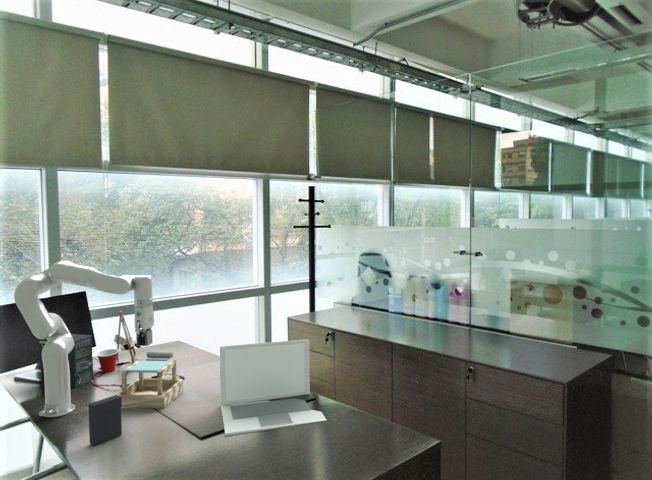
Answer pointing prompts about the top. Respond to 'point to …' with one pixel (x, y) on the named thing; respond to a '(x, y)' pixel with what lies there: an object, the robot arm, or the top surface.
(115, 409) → the calculator
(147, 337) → the basalt block
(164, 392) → the tan crate frame
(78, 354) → the headset box
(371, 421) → the top surface
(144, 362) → the hatch
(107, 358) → the plastic cup
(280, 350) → the laptop
